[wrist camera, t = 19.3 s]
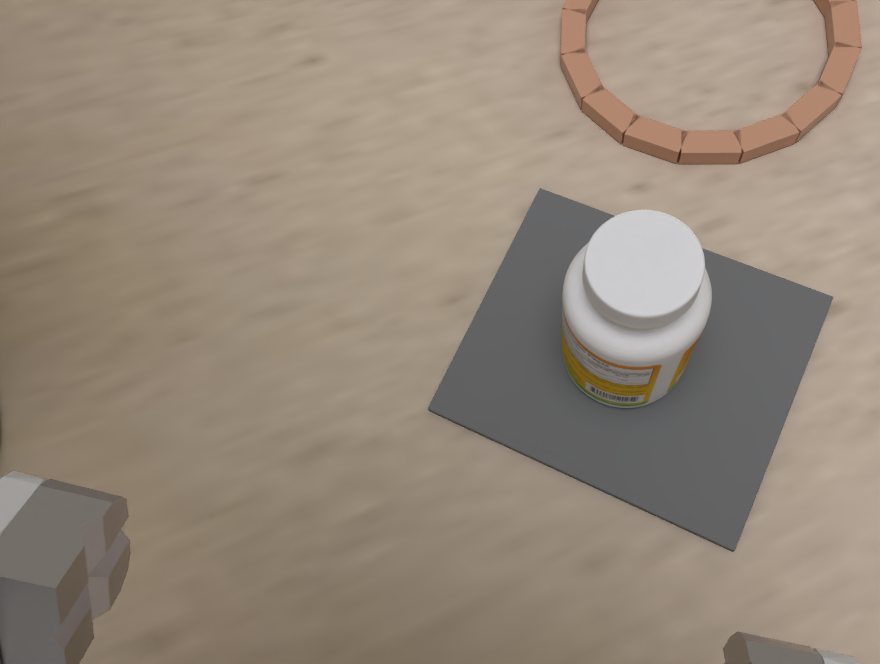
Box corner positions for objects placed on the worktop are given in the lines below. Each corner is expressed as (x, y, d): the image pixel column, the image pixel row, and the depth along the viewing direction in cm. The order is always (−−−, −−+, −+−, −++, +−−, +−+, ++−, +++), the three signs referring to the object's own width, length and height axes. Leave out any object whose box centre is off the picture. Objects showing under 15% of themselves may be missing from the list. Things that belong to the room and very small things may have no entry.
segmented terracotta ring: (516, 108, 42) (515, 96, 41) (625, -98, 46) (627, -113, 45) (795, 204, 39) (801, 194, 38) (891, -28, 42) (899, -43, 41)
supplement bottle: (645, 275, 38) (673, 163, 29) (709, 375, 36) (760, 290, 27) (540, 327, 38) (534, 232, 29) (598, 431, 36) (612, 364, 27)
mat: (429, 410, 38) (427, 408, 37) (540, 192, 41) (539, 188, 40) (732, 551, 34) (734, 550, 34) (830, 300, 37) (833, 297, 37)
